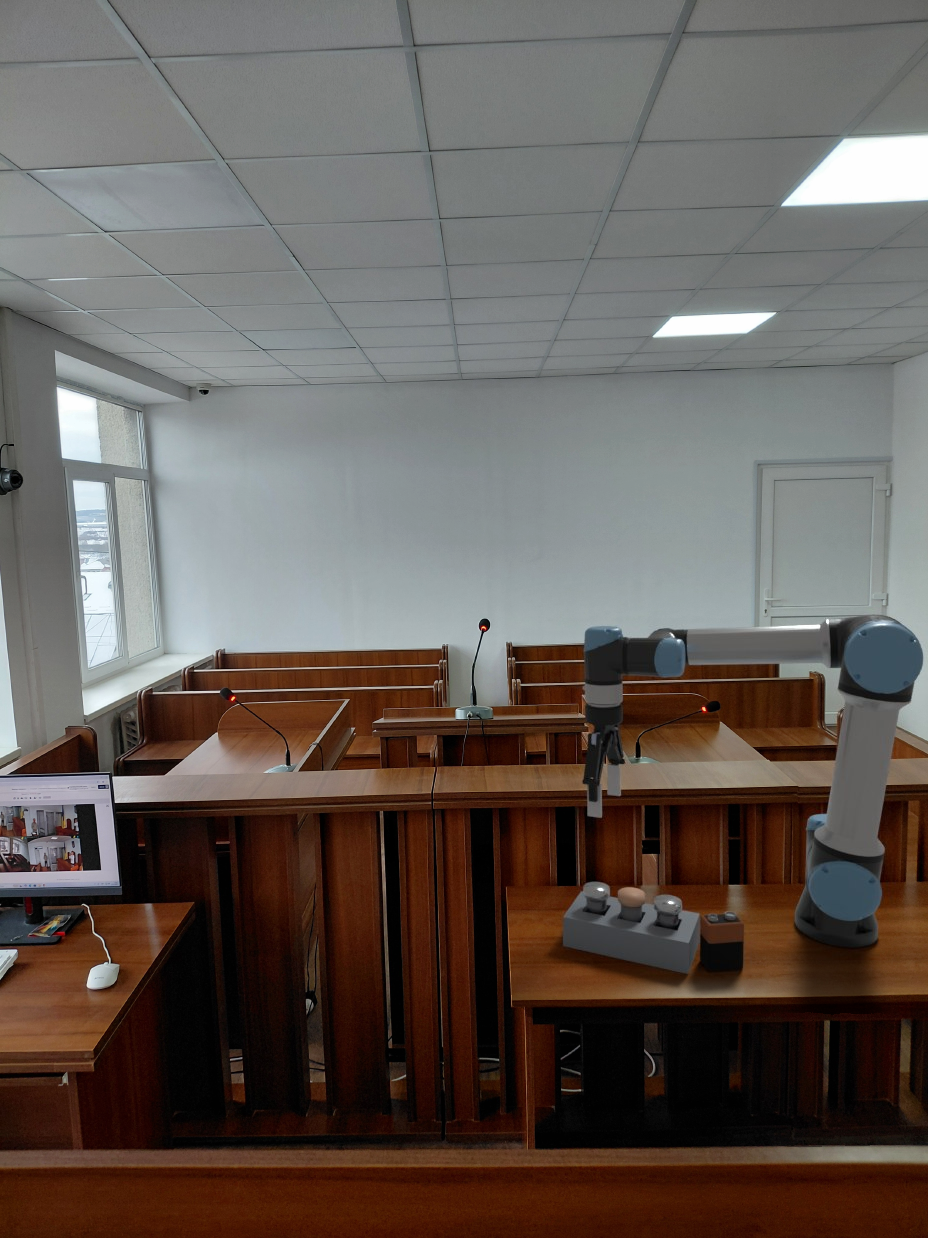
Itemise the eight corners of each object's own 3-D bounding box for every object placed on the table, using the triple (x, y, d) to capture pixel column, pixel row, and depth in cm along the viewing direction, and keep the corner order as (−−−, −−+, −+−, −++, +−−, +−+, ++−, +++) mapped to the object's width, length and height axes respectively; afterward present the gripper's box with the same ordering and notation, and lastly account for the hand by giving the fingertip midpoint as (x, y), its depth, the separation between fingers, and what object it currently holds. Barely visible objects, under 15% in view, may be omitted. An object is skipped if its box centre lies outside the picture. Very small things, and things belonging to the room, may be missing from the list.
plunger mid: (647, 921, 153) (647, 890, 152) (641, 934, 148) (641, 901, 148) (621, 916, 155) (621, 885, 155) (614, 928, 151) (614, 896, 150)
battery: (744, 970, 143) (745, 918, 142) (708, 973, 142) (709, 921, 141) (733, 957, 147) (734, 907, 146) (698, 960, 146) (699, 910, 145)
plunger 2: (683, 929, 150) (684, 897, 149) (678, 942, 145) (679, 909, 145) (656, 924, 152) (657, 892, 152) (650, 937, 148) (651, 904, 147)
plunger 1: (612, 915, 156) (612, 884, 155) (605, 927, 152) (605, 895, 151) (587, 910, 158) (587, 880, 158) (580, 922, 154) (579, 890, 153)
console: (699, 942, 152) (699, 913, 152) (688, 974, 142) (688, 943, 141) (581, 918, 163) (581, 891, 162) (563, 946, 152) (562, 917, 152)
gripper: (603, 690, 169) (604, 784, 171) (565, 715, 147) (567, 823, 149) (637, 692, 166) (638, 789, 168) (603, 718, 144) (604, 829, 146)
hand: (604, 805), depth 159 cm, fingers open, 13 cm apart
